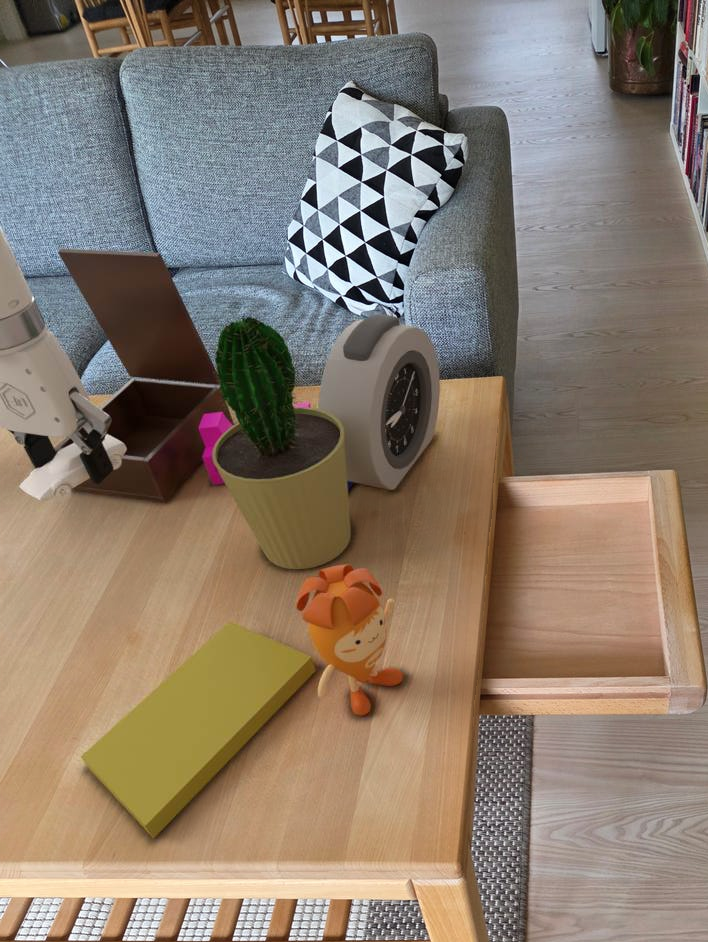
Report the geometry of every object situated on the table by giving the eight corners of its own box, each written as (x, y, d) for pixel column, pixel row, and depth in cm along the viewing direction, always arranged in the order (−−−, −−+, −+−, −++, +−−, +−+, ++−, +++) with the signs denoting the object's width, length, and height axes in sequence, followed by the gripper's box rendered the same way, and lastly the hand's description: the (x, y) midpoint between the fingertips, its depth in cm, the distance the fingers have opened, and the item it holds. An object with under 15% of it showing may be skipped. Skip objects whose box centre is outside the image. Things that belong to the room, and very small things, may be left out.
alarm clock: (380, 508, 115) (357, 371, 100) (330, 497, 117) (301, 361, 102) (444, 422, 128) (432, 291, 114) (398, 414, 130) (381, 284, 116)
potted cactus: (333, 590, 104) (267, 358, 83) (225, 569, 109) (135, 344, 87) (387, 513, 114) (339, 287, 92) (285, 496, 118) (217, 278, 97)
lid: (157, 256, 111) (160, 252, 111) (57, 252, 115) (60, 248, 115) (218, 384, 127) (221, 381, 128) (129, 376, 131) (132, 373, 132)
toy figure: (351, 739, 88) (318, 636, 77) (299, 705, 92) (260, 602, 81) (428, 668, 94) (408, 562, 83) (376, 638, 98) (350, 534, 87)
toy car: (20, 496, 98) (7, 471, 96) (109, 444, 104) (98, 420, 102) (47, 512, 96) (33, 487, 93) (136, 458, 102) (125, 434, 99)
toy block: (212, 484, 122) (194, 438, 117) (221, 459, 126) (203, 414, 121) (317, 473, 121) (304, 426, 116) (322, 448, 125) (309, 402, 120)
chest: (165, 503, 120) (147, 461, 115) (73, 490, 124) (52, 449, 119) (234, 426, 133) (221, 385, 128) (148, 417, 137) (132, 377, 132)
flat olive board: (235, 634, 100) (70, 786, 87) (230, 620, 99) (61, 774, 85) (315, 670, 95) (153, 838, 82) (311, 656, 93) (145, 826, 80)
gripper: (-91, 335, 87) (-6, 482, 100) (49, 350, 82) (120, 502, 95) (-39, 301, 92) (37, 445, 104) (97, 313, 87) (158, 463, 100)
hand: (76, 471), depth 99 cm, fingers closed on toy car, 6 cm apart
